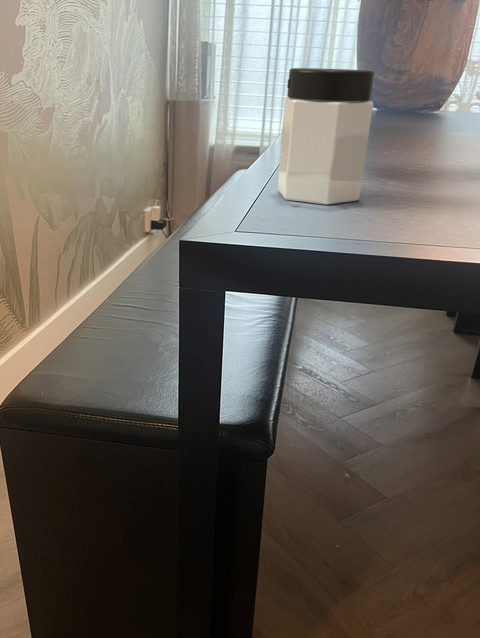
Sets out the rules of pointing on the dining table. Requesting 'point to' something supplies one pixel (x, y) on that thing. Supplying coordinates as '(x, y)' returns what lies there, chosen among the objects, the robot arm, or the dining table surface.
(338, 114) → the jar
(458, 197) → the dining table surface
